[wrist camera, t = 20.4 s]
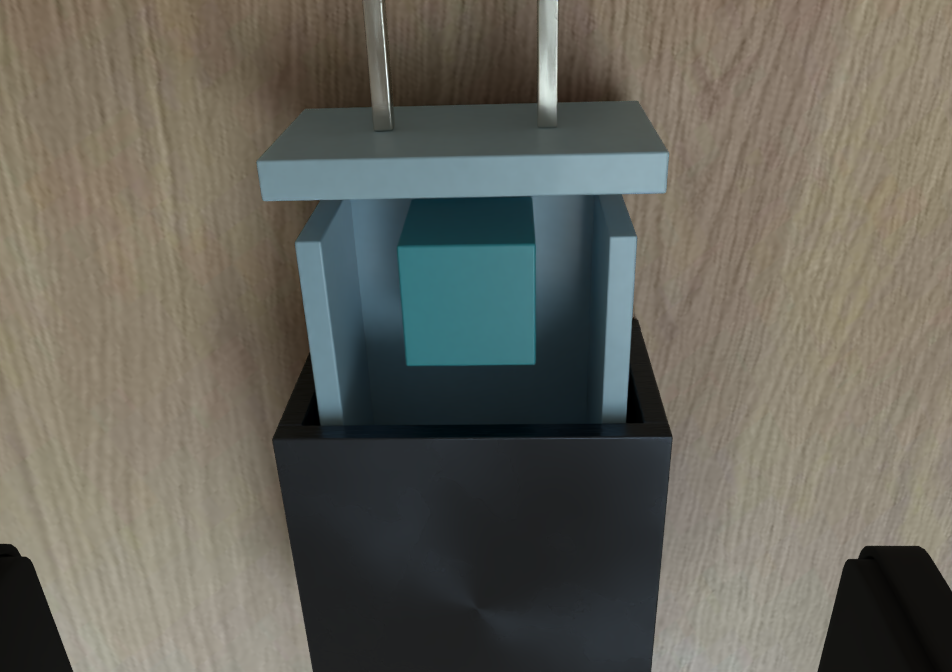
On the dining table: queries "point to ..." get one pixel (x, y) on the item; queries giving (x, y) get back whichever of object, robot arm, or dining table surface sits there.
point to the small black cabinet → (478, 538)
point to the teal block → (468, 282)
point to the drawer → (467, 176)
